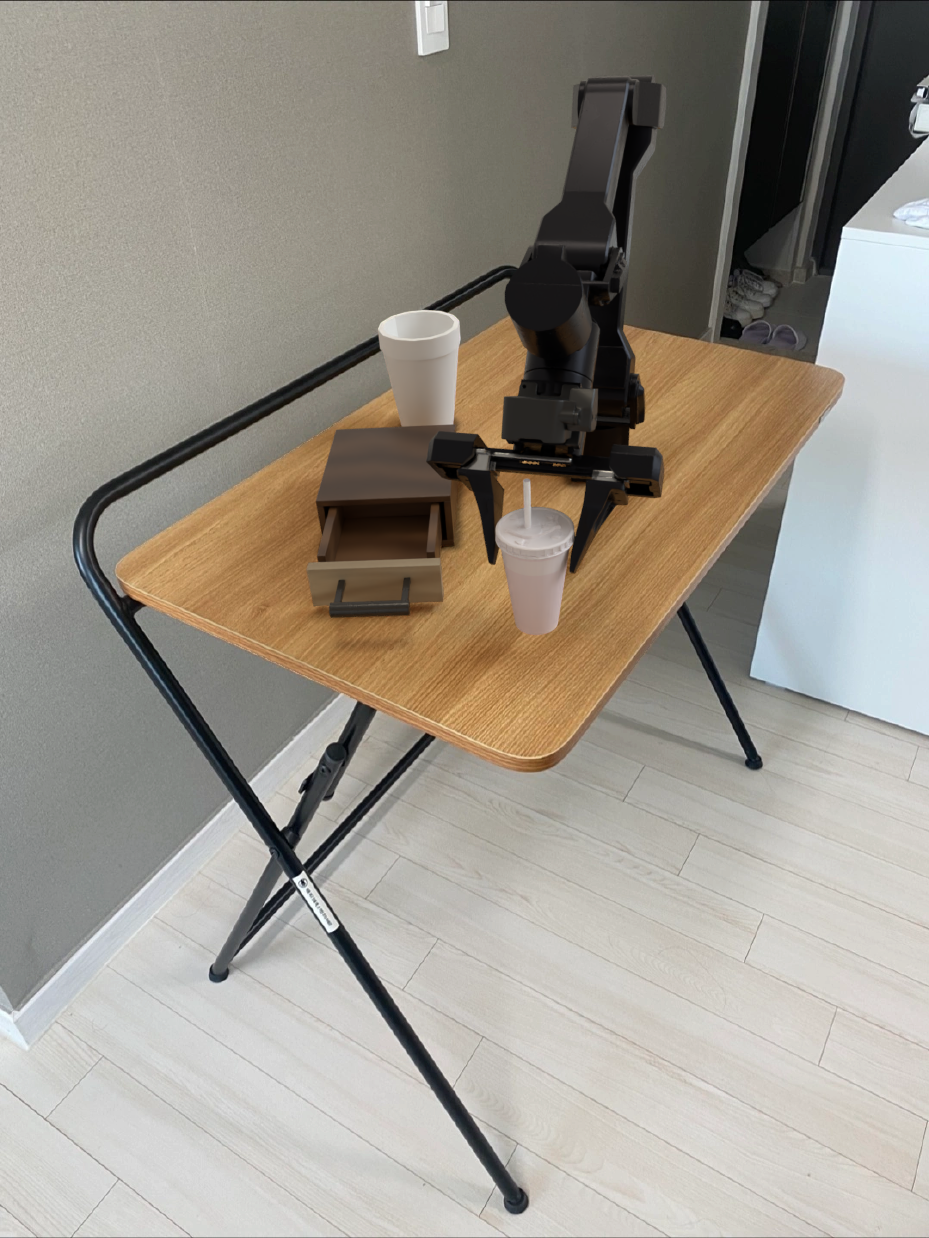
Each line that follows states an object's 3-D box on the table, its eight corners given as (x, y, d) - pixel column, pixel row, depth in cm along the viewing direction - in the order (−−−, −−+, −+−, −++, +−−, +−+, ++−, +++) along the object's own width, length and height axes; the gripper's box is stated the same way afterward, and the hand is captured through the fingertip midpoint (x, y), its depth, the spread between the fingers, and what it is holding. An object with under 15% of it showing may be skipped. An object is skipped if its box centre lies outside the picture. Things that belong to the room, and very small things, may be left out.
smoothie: (495, 602, 85) (488, 463, 76) (567, 595, 85) (568, 455, 76) (504, 649, 80) (497, 505, 71) (580, 641, 80) (582, 497, 71)
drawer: (441, 635, 85) (437, 597, 83) (305, 639, 86) (297, 602, 83) (449, 519, 100) (446, 484, 98) (333, 523, 101) (327, 488, 98)
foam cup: (438, 451, 114) (429, 346, 106) (375, 435, 118) (362, 333, 110) (479, 418, 120) (474, 316, 112) (418, 404, 124) (409, 305, 116)
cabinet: (454, 545, 98) (450, 495, 94) (324, 550, 99) (315, 501, 95) (459, 470, 110) (455, 424, 106) (343, 475, 111) (335, 429, 107)
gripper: (422, 337, 73) (391, 537, 72) (670, 349, 69) (642, 563, 67) (457, 387, 84) (431, 562, 83) (674, 401, 79) (649, 587, 78)
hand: (531, 568), depth 77 cm, fingers closed on smoothie, 6 cm apart
